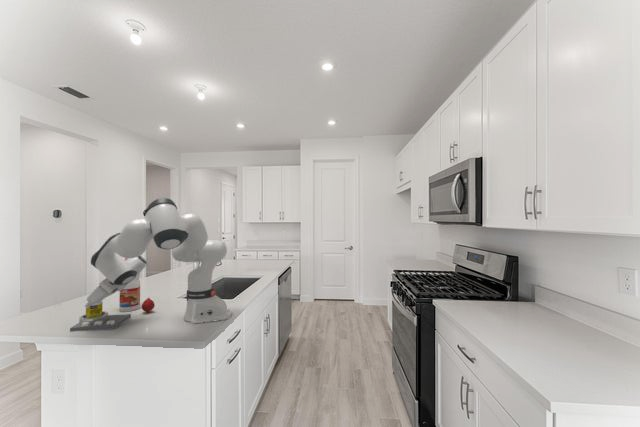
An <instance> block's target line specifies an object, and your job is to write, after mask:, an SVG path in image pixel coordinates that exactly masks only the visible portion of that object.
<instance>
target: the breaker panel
mask: <svg viewBox="0 0 640 427" xmlns="http://www.w3.org/2000/svg"><path fill="white" fill-rule="evenodd" d="M131 317H132V314H131V313H126V314H124V313H123V314H108V319H106V320H105V321H103V322H102V321H96V322H95V323H94V324H90V322H84V323H82V324H81V323H79V322H78V323H76V324H75V325H72V326H71V327H70V328H69V331H70V332H78V331H79V332H80V331H94V330H95V331H96V330H98V331H99V330H111V329H112V330H113V329H115V330H116V329H117V328H119V327H120V326H121V325H123V324H124V323H125V322H126V321H128V320H129V319H130V318H131Z"/></svg>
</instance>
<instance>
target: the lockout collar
mask: <svg viewBox="0 0 640 427" xmlns="http://www.w3.org/2000/svg"><path fill="white" fill-rule="evenodd" d="M108 315H109V311H106V310H105V311H103V310H102V316H99V317H95V318H86V313H84V314H83V315H81V316H79V317H78V318H79V321H78V323H81V324H82V323H84V322H90V324H94V323H95V322H96V321H102V322H103V321H105V320H106V319H108Z"/></svg>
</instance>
